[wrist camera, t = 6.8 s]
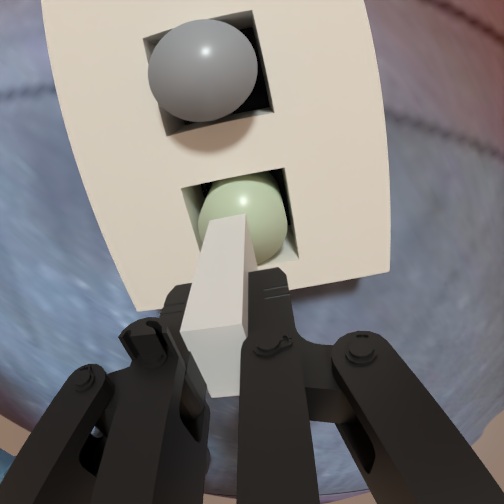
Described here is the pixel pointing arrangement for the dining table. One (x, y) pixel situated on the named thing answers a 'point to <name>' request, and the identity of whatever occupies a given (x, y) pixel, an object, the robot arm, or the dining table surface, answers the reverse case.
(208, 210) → the sage button
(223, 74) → the grey button
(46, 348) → the dining table surface
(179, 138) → the button panel
